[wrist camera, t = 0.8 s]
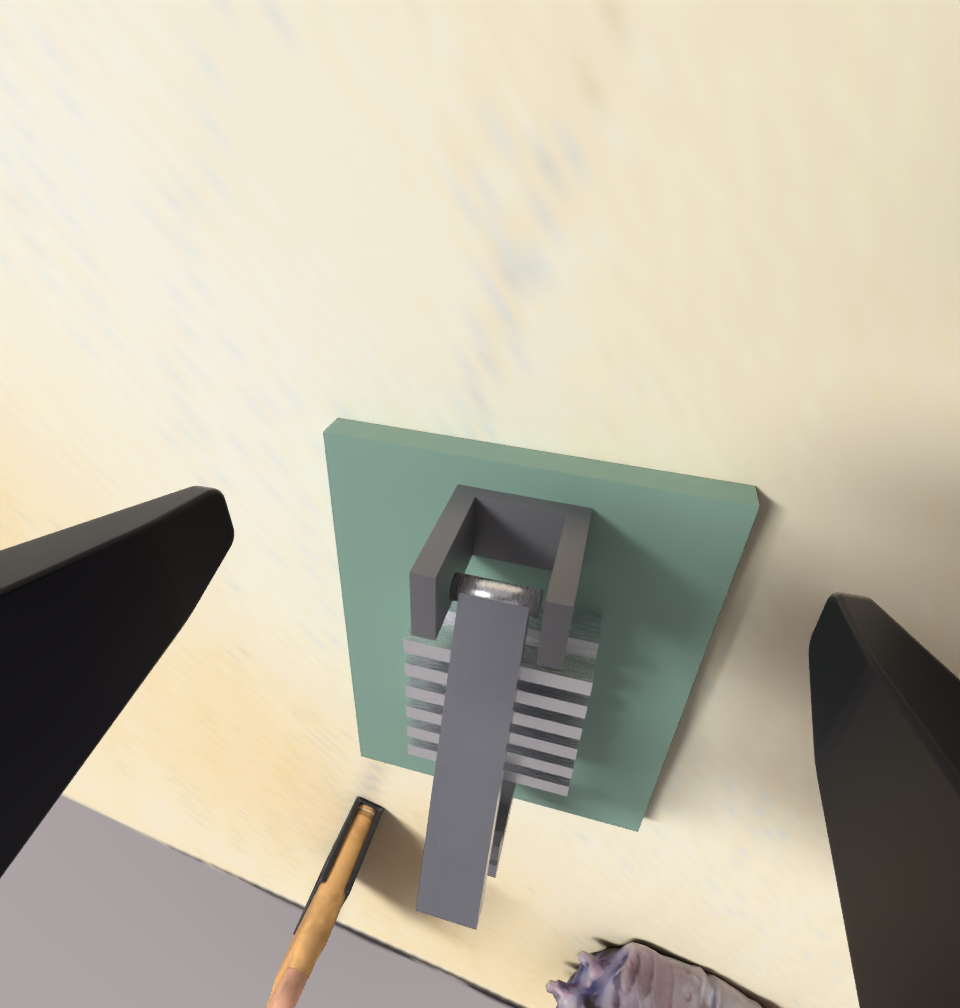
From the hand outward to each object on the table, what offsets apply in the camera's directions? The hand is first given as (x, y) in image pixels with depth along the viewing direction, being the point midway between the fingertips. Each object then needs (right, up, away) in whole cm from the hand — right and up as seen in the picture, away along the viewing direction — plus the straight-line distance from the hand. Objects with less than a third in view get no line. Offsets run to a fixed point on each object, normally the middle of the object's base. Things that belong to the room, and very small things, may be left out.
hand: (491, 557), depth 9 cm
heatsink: (+1, -6, +17) cm, 18 cm away
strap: (0, -8, +12) cm, 14 cm away
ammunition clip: (-9, -22, +33) cm, 40 cm away
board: (+1, -5, +18) cm, 19 cm away
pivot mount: (+1, 0, +13) cm, 13 cm away
